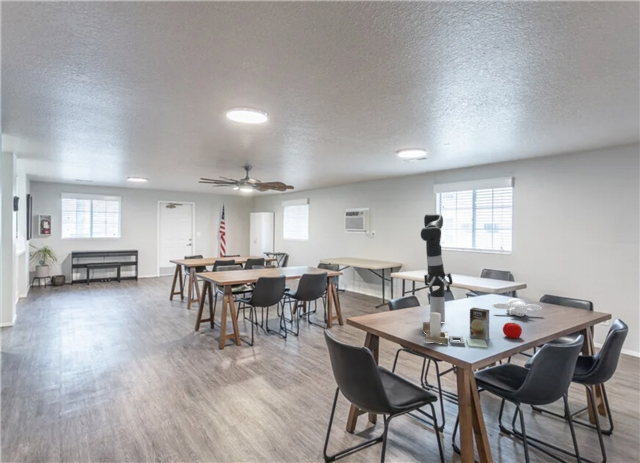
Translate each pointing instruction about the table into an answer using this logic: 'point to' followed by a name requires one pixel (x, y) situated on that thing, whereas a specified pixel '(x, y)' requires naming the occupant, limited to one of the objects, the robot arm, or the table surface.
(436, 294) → the robot arm
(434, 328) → the white tall block
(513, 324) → the tomato
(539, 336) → the table surface
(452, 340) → the hole plate
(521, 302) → the white quadcopter drone
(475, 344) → the pad
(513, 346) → the table surface
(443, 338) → the cubby
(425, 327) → the walnut block
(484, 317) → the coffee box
